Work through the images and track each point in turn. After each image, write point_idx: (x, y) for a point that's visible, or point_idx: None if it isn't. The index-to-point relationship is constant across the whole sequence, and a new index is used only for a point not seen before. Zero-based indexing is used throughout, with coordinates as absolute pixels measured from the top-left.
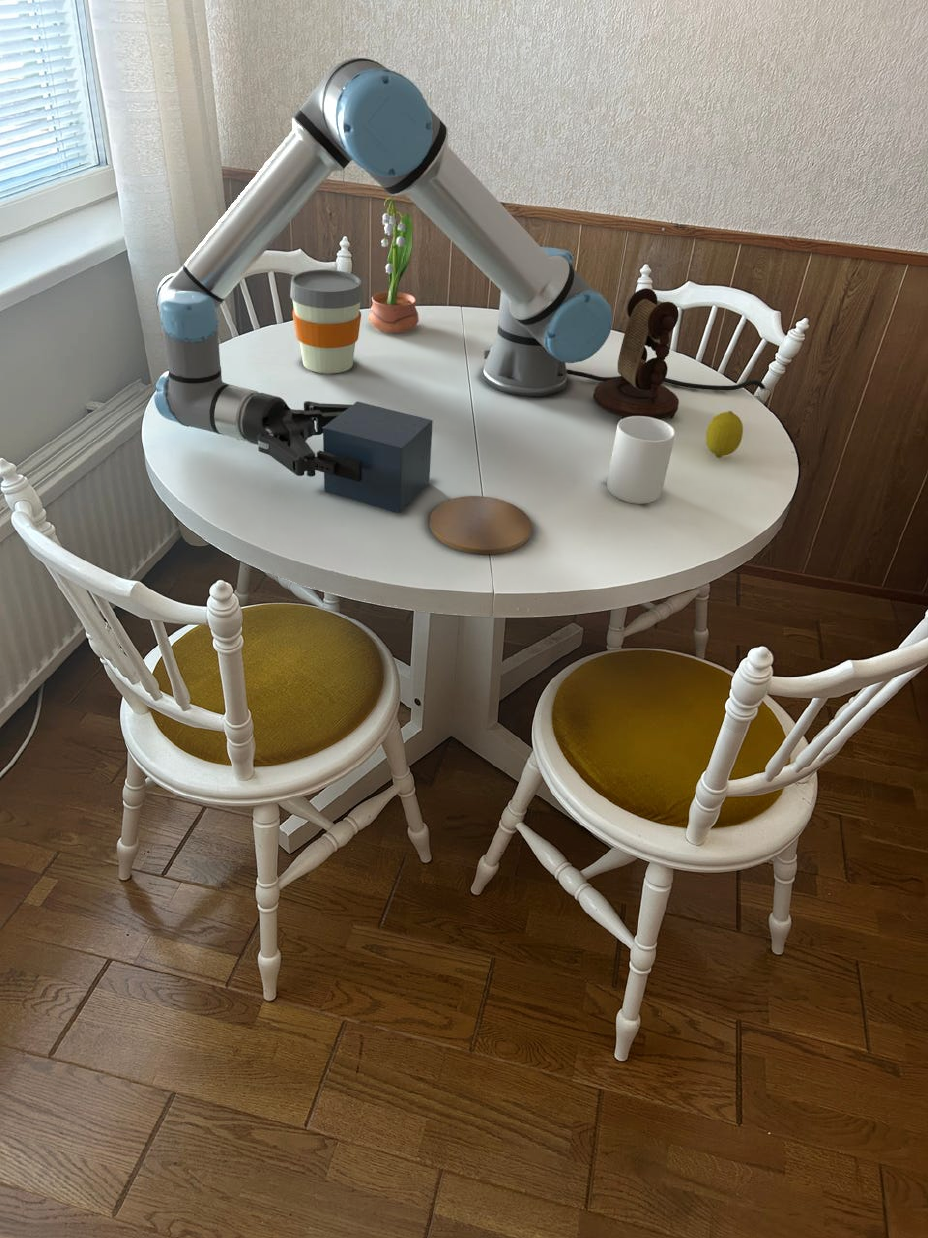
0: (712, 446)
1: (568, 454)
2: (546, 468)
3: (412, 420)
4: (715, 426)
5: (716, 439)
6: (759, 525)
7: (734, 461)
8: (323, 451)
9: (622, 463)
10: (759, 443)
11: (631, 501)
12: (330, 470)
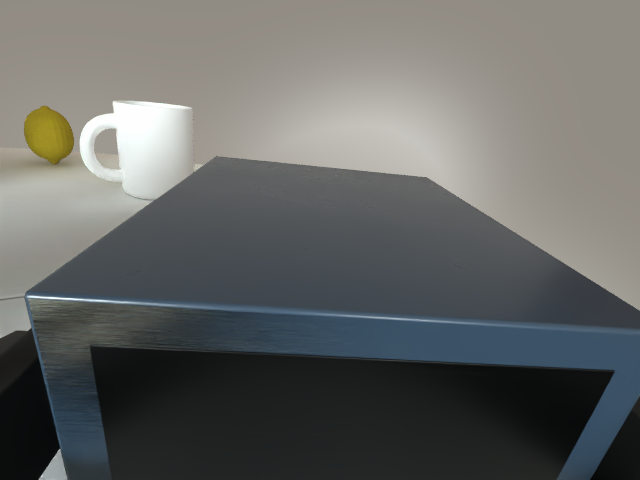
0: (63, 148)
1: (36, 219)
2: (98, 230)
3: (244, 170)
4: (55, 124)
5: (65, 137)
6: (201, 165)
7: (65, 161)
8: (637, 414)
9: (184, 148)
10: (16, 152)
11: None
12: None
